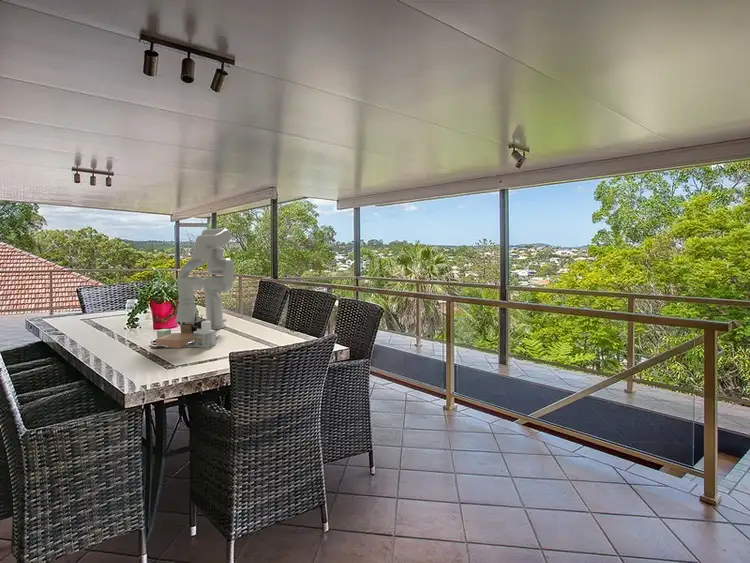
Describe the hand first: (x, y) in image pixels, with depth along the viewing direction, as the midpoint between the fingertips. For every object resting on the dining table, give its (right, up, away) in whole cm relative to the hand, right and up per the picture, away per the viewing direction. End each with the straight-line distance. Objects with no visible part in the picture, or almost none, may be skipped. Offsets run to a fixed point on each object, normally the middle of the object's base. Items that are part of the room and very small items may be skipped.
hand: (189, 333), depth 241 cm
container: (+15, -5, -17) cm, 24 cm away
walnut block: (0, -1, 0) cm, 1 cm away
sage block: (-13, -3, -1) cm, 14 cm away
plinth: (-1, -4, -13) cm, 13 cm away
